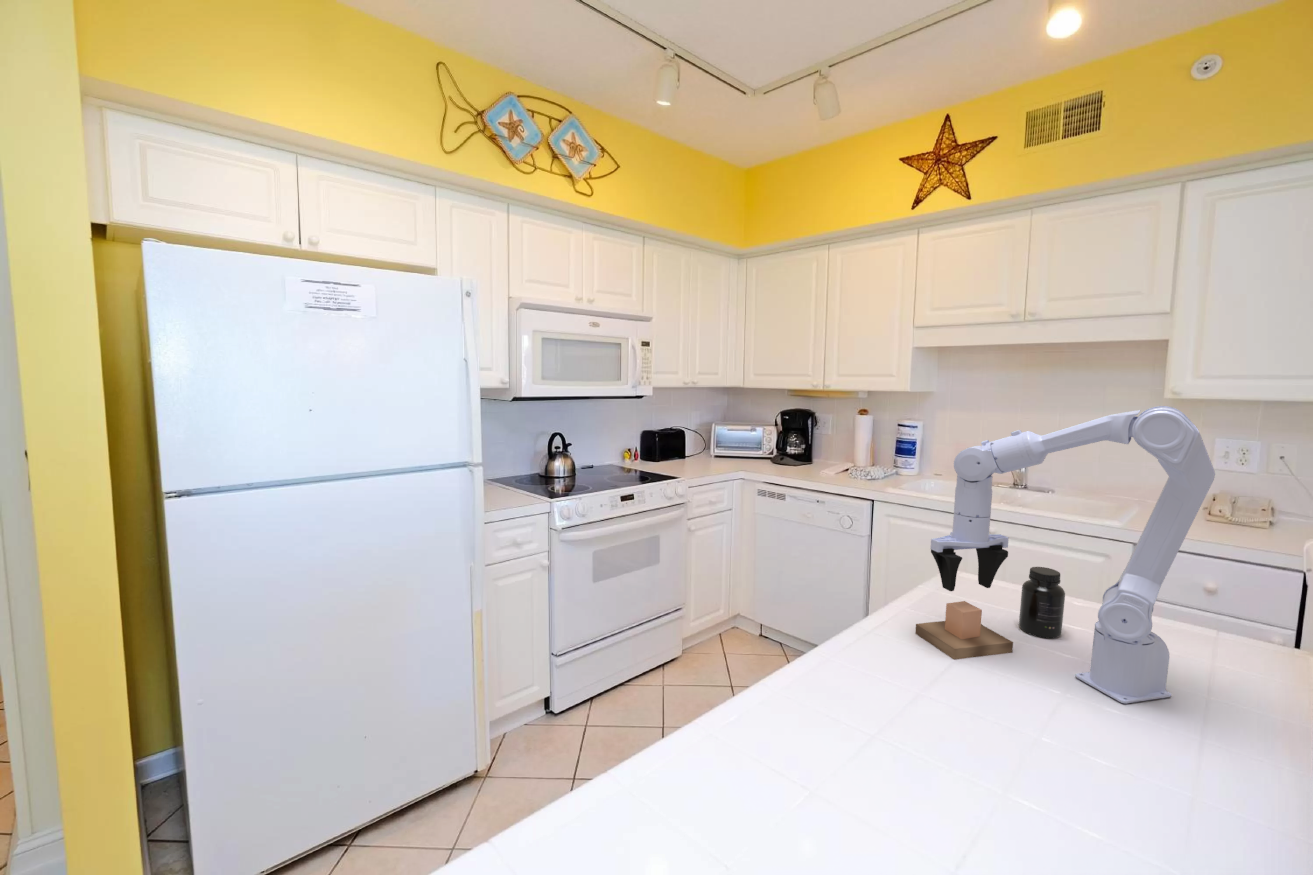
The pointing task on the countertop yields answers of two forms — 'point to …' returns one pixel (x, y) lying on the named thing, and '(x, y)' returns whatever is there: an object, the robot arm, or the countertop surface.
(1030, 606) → the supplement bottle
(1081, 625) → the countertop surface
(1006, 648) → the walnut board
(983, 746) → the countertop surface
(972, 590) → the countertop surface
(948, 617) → the terracotta block
